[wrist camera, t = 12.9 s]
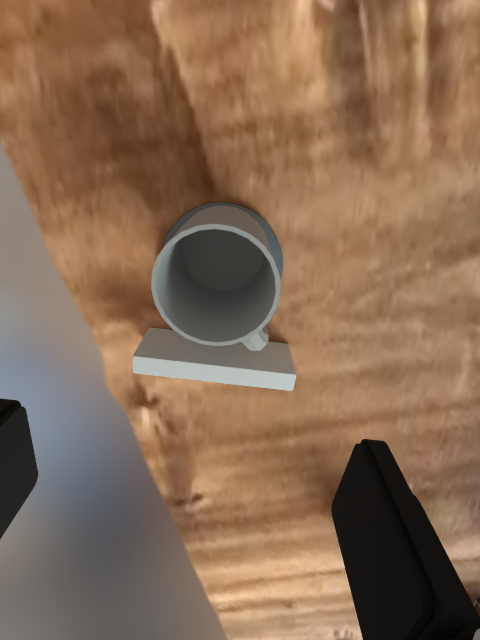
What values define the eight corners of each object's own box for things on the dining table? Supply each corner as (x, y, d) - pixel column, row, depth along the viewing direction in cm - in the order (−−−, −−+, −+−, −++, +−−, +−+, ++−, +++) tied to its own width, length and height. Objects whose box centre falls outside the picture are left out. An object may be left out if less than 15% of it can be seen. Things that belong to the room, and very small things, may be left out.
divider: (149, 327, 30) (132, 356, 25) (288, 343, 31) (296, 374, 26) (148, 342, 31) (133, 373, 26) (285, 358, 31) (292, 390, 27)
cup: (242, 185, 24) (242, 197, 16) (296, 296, 28) (319, 350, 20) (160, 232, 26) (124, 264, 18) (223, 332, 29) (216, 395, 21)
